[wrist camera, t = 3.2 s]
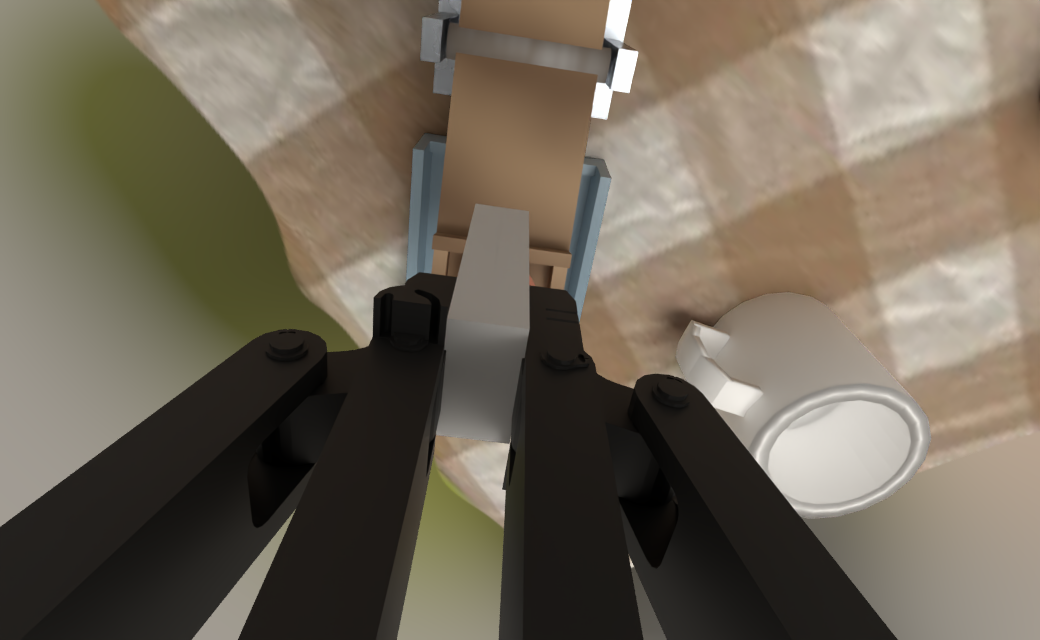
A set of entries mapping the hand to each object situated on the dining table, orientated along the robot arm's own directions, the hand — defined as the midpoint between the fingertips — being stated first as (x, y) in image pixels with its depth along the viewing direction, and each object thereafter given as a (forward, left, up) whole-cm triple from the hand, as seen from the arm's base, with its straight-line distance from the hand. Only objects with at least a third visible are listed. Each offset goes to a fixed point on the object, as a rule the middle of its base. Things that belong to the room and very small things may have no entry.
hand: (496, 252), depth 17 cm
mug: (+21, +10, -21) cm, 32 cm away
